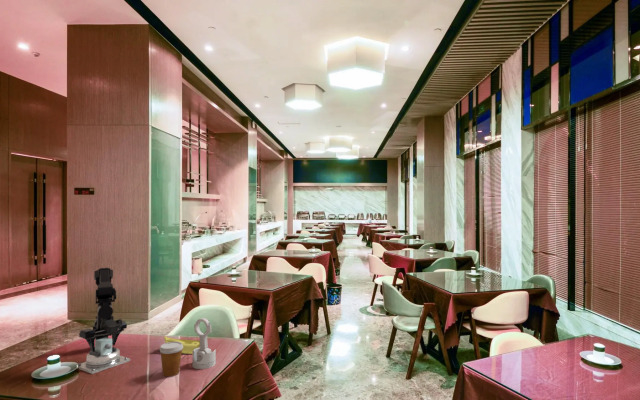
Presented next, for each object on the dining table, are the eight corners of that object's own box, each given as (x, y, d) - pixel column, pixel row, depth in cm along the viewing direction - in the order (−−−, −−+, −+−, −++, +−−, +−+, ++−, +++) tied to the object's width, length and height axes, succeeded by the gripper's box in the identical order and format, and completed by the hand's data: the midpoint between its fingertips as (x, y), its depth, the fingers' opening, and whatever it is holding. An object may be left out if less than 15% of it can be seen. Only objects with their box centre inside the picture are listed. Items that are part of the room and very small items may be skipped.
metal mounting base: (75, 367, 163) (75, 352, 163) (113, 355, 178) (113, 341, 178) (91, 374, 156) (92, 358, 156) (130, 360, 170) (130, 346, 171)
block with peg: (94, 353, 166) (95, 340, 166) (106, 350, 170) (106, 337, 171) (103, 356, 163) (103, 342, 163) (114, 353, 167) (114, 339, 167)
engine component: (204, 370, 159) (220, 362, 168) (205, 322, 160) (220, 317, 169) (186, 366, 164) (202, 358, 173) (186, 320, 165) (202, 314, 174)
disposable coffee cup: (168, 380, 149) (168, 350, 150) (154, 375, 154) (154, 346, 155) (187, 372, 157) (188, 343, 158) (173, 367, 162) (174, 340, 163)
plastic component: (207, 341, 191) (202, 338, 182) (204, 356, 187) (199, 354, 178) (169, 338, 191) (163, 335, 182) (165, 353, 187) (158, 351, 179)
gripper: (92, 321, 156) (91, 358, 155) (134, 311, 172) (133, 345, 171) (79, 317, 162) (78, 353, 161) (120, 308, 178) (119, 341, 177)
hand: (103, 348), depth 167 cm, fingers open, 9 cm apart
